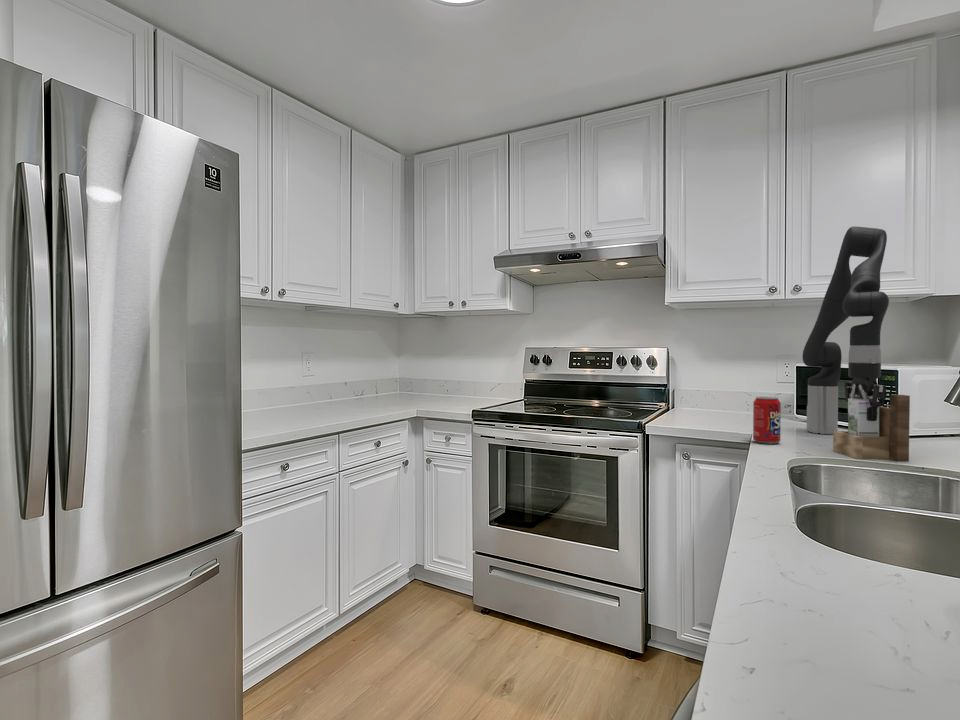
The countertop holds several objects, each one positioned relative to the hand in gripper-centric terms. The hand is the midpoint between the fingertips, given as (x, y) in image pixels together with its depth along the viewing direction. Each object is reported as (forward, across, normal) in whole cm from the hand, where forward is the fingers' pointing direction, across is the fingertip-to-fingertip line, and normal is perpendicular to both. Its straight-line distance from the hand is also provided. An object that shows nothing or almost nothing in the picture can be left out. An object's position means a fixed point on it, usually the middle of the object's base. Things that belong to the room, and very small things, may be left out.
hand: (863, 418), depth 148 cm
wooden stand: (+10, 0, 0) cm, 10 cm away
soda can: (+11, -19, -18) cm, 28 cm away
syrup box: (+9, 0, 0) cm, 9 cm away
